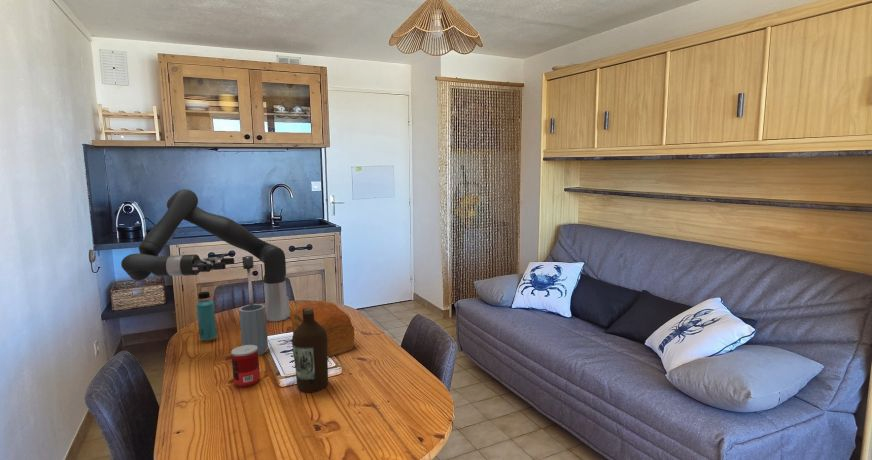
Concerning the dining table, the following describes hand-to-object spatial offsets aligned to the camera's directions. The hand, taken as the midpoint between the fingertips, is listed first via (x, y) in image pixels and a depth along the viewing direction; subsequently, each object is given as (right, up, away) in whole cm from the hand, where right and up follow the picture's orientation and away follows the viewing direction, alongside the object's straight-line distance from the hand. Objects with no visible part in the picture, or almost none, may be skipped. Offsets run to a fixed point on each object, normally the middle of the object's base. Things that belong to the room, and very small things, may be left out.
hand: (229, 263), depth 172 cm
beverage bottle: (-16, -32, +17) cm, 40 cm away
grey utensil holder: (+7, -33, +5) cm, 34 cm away
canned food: (+14, -37, -19) cm, 44 cm away
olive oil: (+36, -37, -23) cm, 56 cm away
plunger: (+7, -22, +4) cm, 23 cm away
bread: (+31, -32, +11) cm, 46 cm away
